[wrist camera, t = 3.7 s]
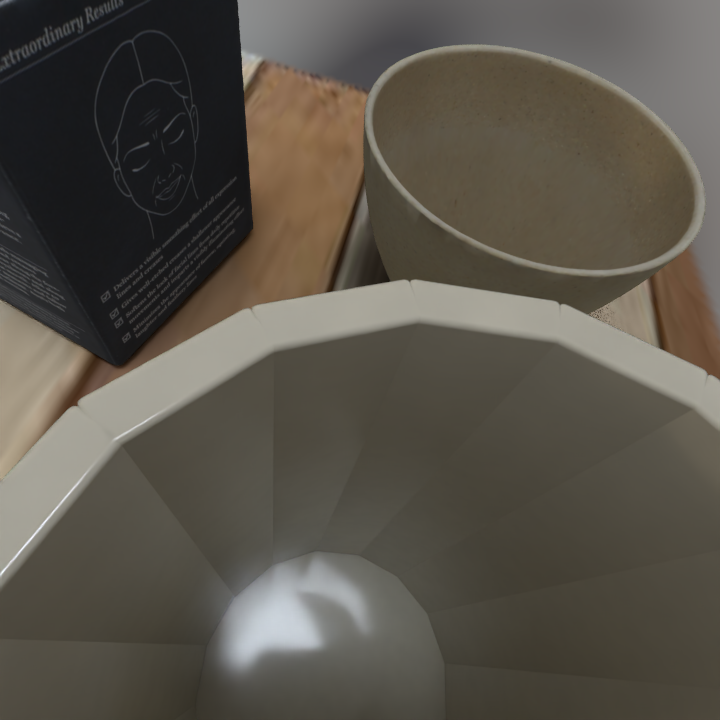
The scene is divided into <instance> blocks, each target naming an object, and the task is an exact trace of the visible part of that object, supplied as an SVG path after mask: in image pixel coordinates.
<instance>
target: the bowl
mask: <svg viewBox="0 0 720 720" xmlns="http://www.w3.org/2000/svg"><path fill="white" fill-rule="evenodd" d="M364 174H365V186H366V196H367V203H368V209H369V215H370V220H371V224H372V229H373V233H374V237H375V241H376V244H377V247H378V250H379V253H380V256H381V259H382V262H383V265H384V267H385V270H386V272H387V275H388V277H389V279H390V281H391V282H392V281H398V280H408V281H409V282H410V281H411V280H415V279H416V280H423V281H429V282H436V283H442V284H449V285H455V286H462V287H468V288H475V289H481V290H488V291H494V292H501V293H507V294H514V295H520V296H527V297H533V298H539V299H546V300H552V301H556V302H558V303H559V305H561V304H566V305H568V306H571V307H573V308H575V309H577V310H579V311H581V312H583V313H585V314H589V313H591V312H593V311H595V310H597V309H599V308H601V307H603V306H605V305H606V304H608V303H610V302H611V301H613V300H615V299H617V298H618V297H620V296H622V295H623V294H625V293H627V292H628V291H630V290H631V289H633V288H635V287H636V286H637V285H639V284H640V283H642V282H643V281H645V280H646V279H648V278H649V277H651V276H652V275H653V274H655V273H656V272H658V271H659V270H660V269H662V268H663V267H664V266H666V265H667V264H668V263H669V262H671V261H672V260H673V259H675V258H676V257H677V256H678V255H679V254H681V253H682V252H683V251H684V250H685V249H686V248H687V247H688V246H689V245H690V244H691V243H692V241H693V240H694V239H695V237H696V236H697V234H698V233H699V231H700V229H701V226H702V223H703V220H704V216H705V209H706V196H705V190H704V185H703V182H702V178H701V175H700V173H699V171H698V168H697V166H696V165H695V162H694V160H693V159H692V157H691V155H690V153H689V152H688V150H687V148H686V147H685V146H684V144H683V143H682V142H681V140H680V139H679V138H678V137H677V135H676V134H675V133H674V132H673V131H672V129H670V127H669V126H668V125H667V124H666V123H665V122H664V121H663V120H662V119H661V118H660V117H659V116H657V115H656V114H655V113H654V112H653V111H652V110H650V109H649V108H648V107H647V106H645V105H644V104H643V103H641V102H640V101H638V100H637V99H636V98H634V97H633V96H631V95H630V94H628V93H627V92H626V91H624V90H623V89H621V88H619V87H617V86H616V85H614V84H612V83H610V82H609V81H607V80H605V79H603V78H601V77H599V76H597V75H595V74H593V73H591V72H589V71H587V70H585V69H582V68H580V67H578V66H575V65H572V64H570V63H567V62H564V61H562V60H559V59H555V58H551V57H549V56H545V55H542V54H538V53H534V52H530V51H525V50H521V49H516V48H509V47H503V46H494V45H455V46H447V47H440V48H435V49H430V50H427V51H423V52H420V53H417V54H415V55H412V56H409V57H407V58H405V59H403V60H401V61H399V62H397V63H396V64H394V65H392V66H391V67H389V68H388V69H387V70H386V71H385V72H384V73H383V74H382V75H381V76H380V77H379V79H378V80H377V81H376V82H375V84H374V85H373V87H372V89H371V91H370V93H369V96H368V98H367V101H366V106H365V115H364Z"/></svg>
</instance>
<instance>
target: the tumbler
mask: <svg viewBox="0 0 720 720" xmlns="http://www.w3.org/2000/svg"><path fill="white" fill-rule="evenodd" d="M0 720H720V380H719V379H717V378H716V377H715V376H713V375H708V374H707V372H706V371H705V370H704V369H702V368H700V367H698V366H695V365H693V364H691V363H689V362H687V361H685V360H683V359H681V358H679V357H676V356H674V355H672V354H670V353H668V352H666V351H664V350H662V349H659V348H657V347H655V346H653V345H651V344H649V343H647V342H645V341H643V340H640V339H638V338H636V337H634V336H632V335H630V334H628V333H626V332H623V331H621V330H619V329H617V328H615V327H613V326H611V325H609V324H607V323H604V322H602V321H600V320H598V319H596V318H594V317H592V316H590V315H587V314H585V313H583V312H581V311H579V310H577V309H575V308H573V307H571V306H568V305H566V304H561V305H559V303H558V302H556V301H552V300H546V299H539V298H533V297H527V296H520V295H514V294H507V293H501V292H494V291H488V290H481V289H475V288H468V287H462V286H455V285H449V284H442V283H436V282H429V281H423V280H416V279H415V280H411V281H410V282H409V281H408V280H398V281H392V282H386V283H380V284H375V285H369V286H363V287H357V288H351V289H345V290H340V291H334V292H328V293H322V294H316V295H310V296H305V297H299V298H293V299H287V300H281V301H275V302H270V303H264V304H258V305H255V306H253V307H252V309H249V308H245V309H243V310H241V311H239V312H237V313H235V314H234V315H232V316H230V317H228V318H226V319H224V320H223V321H221V322H219V323H217V324H215V325H214V326H212V327H210V328H208V329H206V330H204V331H203V332H201V333H199V334H197V335H195V336H194V337H192V338H190V339H188V340H186V341H184V342H183V343H181V344H179V345H177V346H175V347H174V348H172V349H170V350H168V351H166V352H164V353H163V354H161V355H159V356H157V357H155V358H153V359H152V360H150V361H148V362H146V363H144V364H143V365H141V366H139V367H137V368H135V369H133V370H132V371H130V372H128V373H126V374H124V375H123V376H121V377H119V378H117V379H115V380H113V381H112V382H110V383H108V384H106V385H104V386H103V387H101V388H99V389H97V390H95V391H93V392H92V393H90V394H88V395H86V396H84V397H82V398H81V399H80V400H79V401H78V407H77V406H72V407H71V408H69V409H68V410H67V411H66V412H65V413H64V414H63V415H62V416H61V417H60V418H59V419H58V420H57V421H56V422H55V423H54V425H53V426H52V427H51V428H50V429H49V430H48V431H47V432H46V433H45V434H44V435H43V436H42V437H41V438H40V439H39V440H38V442H37V443H36V444H35V445H34V446H33V447H32V448H31V449H30V450H29V451H28V452H27V453H26V454H25V455H24V456H23V457H22V459H21V460H20V461H19V462H18V463H17V464H16V465H15V466H14V467H13V468H12V469H11V470H10V471H9V472H8V473H7V475H6V476H5V477H4V478H3V479H2V480H1V481H0Z"/></svg>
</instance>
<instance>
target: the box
mask: <svg viewBox="0 0 720 720" xmlns="http://www.w3.org/2000/svg"><path fill="white" fill-rule="evenodd" d="M252 229H253V220H252V205H251V189H250V178H249V161H248V147H247V131H246V118H245V105H244V90H243V75H242V57H241V43H240V31H239V16H238V2H237V0H0V298H1V299H3V300H5V301H6V302H8V303H10V304H11V305H13V306H15V307H17V308H18V309H20V310H22V311H23V312H25V313H27V314H29V315H31V316H32V317H33V318H35V319H36V320H38V321H40V322H42V323H43V324H45V325H47V326H49V327H50V328H52V329H54V330H55V331H57V332H59V333H60V334H62V335H64V336H65V337H67V338H69V339H71V340H72V341H74V342H75V343H77V344H79V345H81V346H82V347H84V348H86V349H88V350H89V351H91V352H92V353H94V354H96V355H98V356H99V357H101V358H103V359H105V360H106V361H108V362H109V363H112V364H114V365H122V364H123V363H124V362H125V361H127V360H128V359H129V358H130V357H131V356H132V355H133V353H134V352H135V351H136V350H137V349H138V348H139V347H140V346H141V345H142V344H143V343H144V342H145V341H146V340H147V339H148V338H149V337H150V336H151V335H152V334H153V333H154V331H155V330H156V329H157V328H158V327H159V326H160V325H161V324H162V323H163V322H164V321H165V320H166V319H167V318H168V317H169V316H170V315H171V314H172V313H173V312H174V311H175V310H176V309H177V307H178V306H179V305H180V304H181V303H182V302H183V301H184V300H185V299H186V298H187V297H188V296H189V295H190V294H191V293H192V292H193V291H194V290H195V289H196V288H197V287H198V286H199V285H200V284H201V283H202V282H203V281H204V279H205V278H206V277H207V276H208V275H209V274H210V273H211V272H212V271H213V270H214V269H215V268H216V267H217V266H218V265H219V264H220V263H221V261H222V260H223V259H224V258H225V257H226V256H227V255H228V254H229V253H230V252H231V251H232V250H233V249H234V248H235V247H236V246H237V245H238V244H239V243H240V242H241V241H242V240H243V239H244V238H245V237H246V235H247V234H248V233H249V232H250V231H251V230H252Z"/></svg>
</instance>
